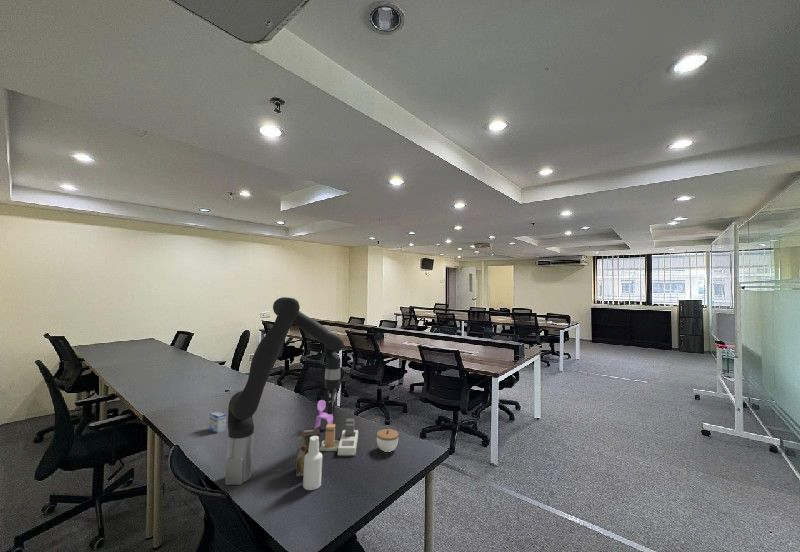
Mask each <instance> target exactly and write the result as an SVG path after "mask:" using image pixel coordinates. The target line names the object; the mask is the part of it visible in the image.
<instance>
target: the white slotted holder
mask: <svg viewBox="0 0 800 552" xmlns="http://www.w3.org/2000/svg"><path fill="white" fill-rule="evenodd" d="M355 422H356V421H355V418H346V420H345V429H343V430H342V431H341V436H340V439H339V446H338V449H337V457H356V454H357V445H358V440H359V429H355Z"/></svg>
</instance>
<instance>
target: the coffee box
mask: <svg viewBox="0 0 800 552" xmlns="http://www.w3.org/2000/svg"><path fill="white" fill-rule="evenodd" d="M312 436H318V437H319V452H320V453H321V451H320V446H321V444H320V443H321V431H320V428H315V429H314V428H312V429H311V428H310V429H299V430H298V431H297V443H296V444H297V447H296V448H297V449H296V450H297V451H296V477H303V476H304V457H305V455H306V454H307V453H308V450H309V443H310V437H312Z"/></svg>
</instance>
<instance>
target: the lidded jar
mask: <svg viewBox="0 0 800 552" xmlns="http://www.w3.org/2000/svg"><path fill="white" fill-rule="evenodd" d="M399 436H400V435H399V432H398V431H397V430H394V429H390V428H386V429H385V428H384V429H380V430H378V431H377V433H376V444H377V447H378V448H379V449H380V451H381V450H382V451H384V452H391V451H393V452H394V451H395V450H396V448H397V446H398V442H399ZM382 451H381V452H382ZM384 452H383V453H384ZM391 453H392V452H391Z"/></svg>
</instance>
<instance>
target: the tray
mask: <svg viewBox="0 0 800 552" xmlns="http://www.w3.org/2000/svg"><path fill="white" fill-rule="evenodd" d="M339 443H340V440H335V443H334V448H325V439H324V440H322V441H321V444H320V452H338V446H339Z"/></svg>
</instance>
